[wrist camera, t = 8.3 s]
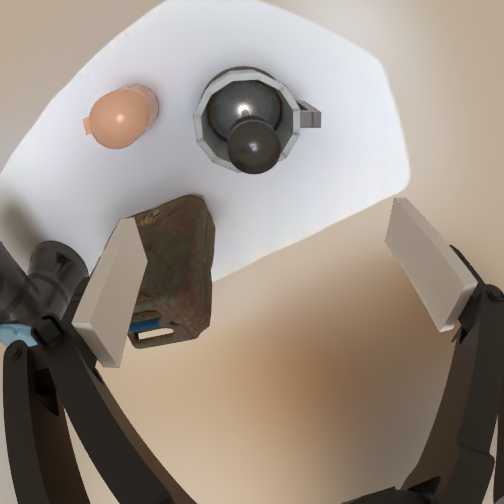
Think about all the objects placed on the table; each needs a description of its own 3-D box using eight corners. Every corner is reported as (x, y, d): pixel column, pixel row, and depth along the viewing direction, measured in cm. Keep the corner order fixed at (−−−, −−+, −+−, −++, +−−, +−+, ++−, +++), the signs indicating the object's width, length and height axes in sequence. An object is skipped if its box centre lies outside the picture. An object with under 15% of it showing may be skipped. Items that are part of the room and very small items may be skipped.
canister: (201, 188, 50) (184, 293, 30) (219, 226, 55) (215, 338, 35) (112, 222, 53) (63, 324, 33) (133, 255, 57) (100, 359, 38)
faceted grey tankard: (205, 148, 46) (197, 179, 36) (197, 70, 38) (184, 75, 28) (299, 142, 46) (321, 171, 36) (299, 65, 38) (323, 68, 28)
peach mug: (108, 138, 43) (86, 156, 36) (99, 93, 38) (74, 103, 31) (162, 127, 43) (148, 143, 36) (155, 80, 38) (139, 86, 31)
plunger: (214, 144, 41) (205, 203, 26) (208, 83, 35) (192, 101, 21) (278, 140, 41) (307, 195, 27) (276, 78, 35) (309, 94, 21)
